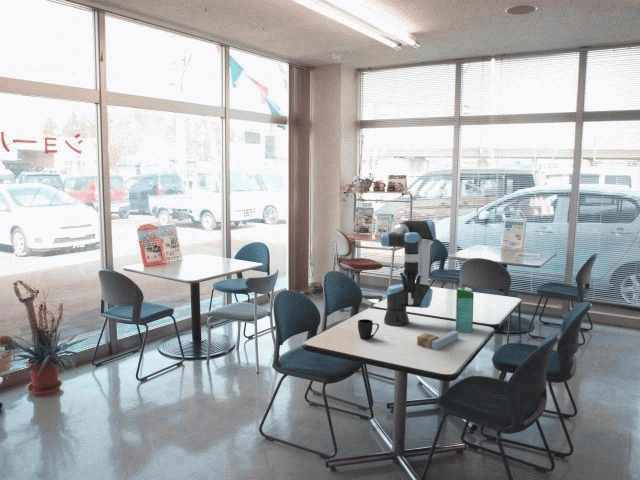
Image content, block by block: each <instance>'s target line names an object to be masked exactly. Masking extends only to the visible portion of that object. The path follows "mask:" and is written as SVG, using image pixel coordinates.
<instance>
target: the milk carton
mask: <svg viewBox="0 0 640 480" xmlns="http://www.w3.org/2000/svg"><path fill="white" fill-rule="evenodd" d="M474 295H475V294H474V291H473V289H472V288H469V287H462V286H459V285H456V294H455V296H456V297H455V299H456V301H455V303H456V304H455V331H457V332H462V333H463V332H464V333H465V332H466V333H473V326H474V323H473V321H474V320H473V318H474V297H475V296H474Z"/></svg>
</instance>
